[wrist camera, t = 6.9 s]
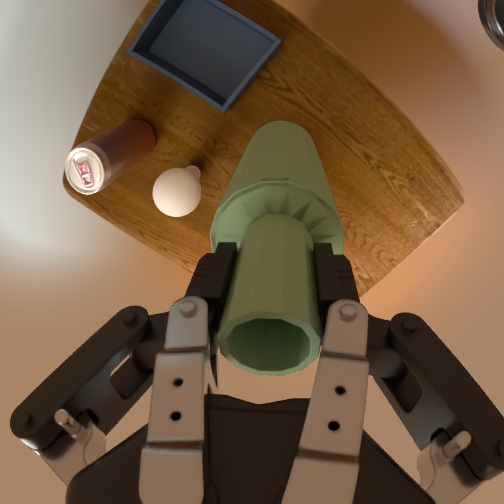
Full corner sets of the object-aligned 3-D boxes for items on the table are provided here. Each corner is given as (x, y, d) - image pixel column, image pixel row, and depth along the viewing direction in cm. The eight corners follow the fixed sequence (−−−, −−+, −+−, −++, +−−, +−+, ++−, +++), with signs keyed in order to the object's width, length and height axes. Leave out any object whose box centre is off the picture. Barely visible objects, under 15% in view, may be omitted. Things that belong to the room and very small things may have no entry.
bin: (144, 53, 34) (126, 52, 30) (189, -11, 29) (176, -20, 24) (231, 107, 38) (223, 113, 34) (282, 44, 33) (282, 40, 28)
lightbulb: (197, 198, 46) (175, 234, 37) (166, 173, 44) (136, 204, 35) (222, 169, 43) (204, 200, 34) (190, 143, 42) (162, 167, 32)
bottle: (246, 121, 26) (149, 265, 8) (315, 120, 26) (388, 268, 7) (250, 183, 30) (192, 389, 11) (315, 183, 29) (349, 395, 11)
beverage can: (127, 159, 44) (73, 200, 31) (117, 124, 40) (57, 153, 28) (161, 151, 42) (112, 191, 30) (152, 113, 39) (96, 139, 27)
